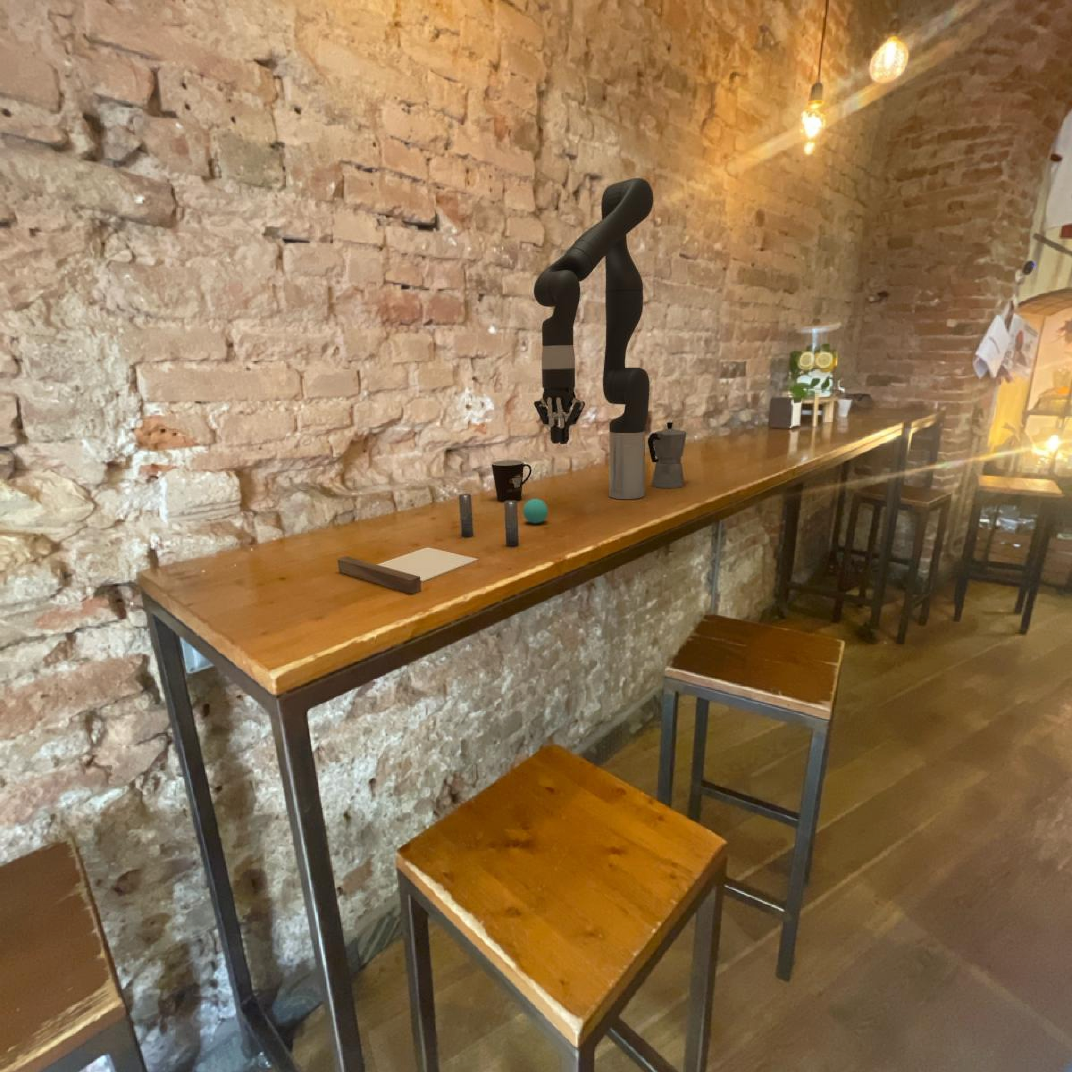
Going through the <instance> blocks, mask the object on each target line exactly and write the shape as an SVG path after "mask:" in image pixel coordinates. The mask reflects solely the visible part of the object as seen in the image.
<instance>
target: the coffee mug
mask: <svg viewBox="0 0 1072 1072" xmlns="http://www.w3.org/2000/svg"><path fill="white" fill-rule="evenodd" d="M525 467H528V470H529V472H528V475H527V476H526V478H525V479H523V478H524V468H525ZM491 468H492V475H493V476H492V477H493V480H494V482H493V483H494V487H495V493H496V499H497V501H498V502H499V503H504V502H505V501H511V500H512V501H517V502H519V501H521V500H522V493H523V485H524V484H525V483H526V482H527V481H528V480H529V479H530V476H532V471H533V470H532V466H531V465H530V464H526V463H525V462H524V460H518V459H503V460H496V461H493V462H491Z"/></svg>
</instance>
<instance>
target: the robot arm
mask: <svg viewBox="0 0 1072 1072" xmlns="http://www.w3.org/2000/svg"><path fill="white" fill-rule="evenodd" d="M653 205H654V192H653V189H652V186H651V185H650V182H648V181H647V179H645V178H640V177H634V178H629V179H626V180H622V181H619V182H616V183H615V182H614V183H613V184H609V185H608V186H607V187H606V188H605V189H604V191H603V194H602V196H601V207H600V209H601V213H600V214H601V220H600V221H599V222H597V223H596V224H594V225H593V226H591V227H590V228H589V229H587V230H586V231H585V232H583V233H582V234H581V235H580V236H579V237H578V238H577V239H576V240H575V241H574V242H573V243H572V245H571V246H569V249H567V251H566V252H565V253H564V254H563V256H561V257H560V258H559V259H557V260H556V261H555V262H553V263H552V264H550V265H549V266H547V268H545V269H544V270H543V271H542V272H541V273H540V274H539V275H538V277H537V278H536V280H535V283H534V286H533V295H534V299H535V300H536V302H537V303H538V304H539V305H541V306H542V307H546V308H551V307H554V308H553V311H552V315H551V316H550V317H548V318H546V319H545V320H543V322H542V324H541V340H542V351H541V384H542V385H541V386H542V388H543V392H542V398H540V399H539V400H535V401H534V402H533V405H534V407H535V409H536V412H537V414H538V416H539V417H540V420H541V422H542V424H543V425H546V426H548V427H550V441H551V443H552V444H554V445H555V444H560V445H566V444H568V442H569V441H570V427H571V426H573V425H576V424H577V423H578V420H579V419H580V416H581V415H582V412H583V411H584V408H585V405H586V402H585V401H582V400H579V398H577V395H576V393H575V387H576V356H575V348H574V347H575V346H574V323H575V321H576V317H577V312H578V308H579V304H580V299H581V284H580V283H581V282H582V281H585V280H586V279H587V278H588V276H589V275H591V273H592V272H593V271H594V269H595V268H596V267H597V266H598V265H599V264H600V262H602V260H603V259H604V260H605V261H604V264H605V267H604V268H605V289H604V291H605V292H604V293H605V296H604V298H605V303H604V304H605V305H604V306H605V348H604V360H603V373H602V390H603V391H602V392H603V395H604V399H605V400H606V401H607V402H608V403H609V404H612V405H624V411H623V413H622V414H621V415H620V416H618V417H616V418H613V419H611V420H610V422H609V428H608V429H609V437H608V439H609V441H608V443H609V449H608V450H609V456H608V457H609V461H608V463H609V465H608V466H609V468H608V470H609V471H608V473H609V476H608V477H609V479H608V482H609V483H608V486H609V487H608V488H609V491H608V494H609V497H610V498H613V499H617V500H637V499H640V498H643V497H645V494H646V489H645V488H646V459H645V458H646V457H645V456H646V454H645V453H646V426H647V421H648V417H649V405H650V404H649V403H650V391H651V388H650V387H651V386H650V385H651V384H650V377H649V374H648V373H647V372H648V371H646V369H644V368H642V367H626V358H627V357H626V356H627V355H626V354H627V349H628V345H629V342H630V340H631V338H632V335H633V334H634V332H635V330H636V328H637V327H638V324H639V322H640V320H641V318H642V315H643V312H644V311H643V309H644V283H643V279H642V276H641V274H640V271H639V270H638V268H637V265H635V262H634V261H633V259H632V257H631V255H630V252H629V248H628V240H627V235H628V233H630V232H631V231H632V230H633V229H634V228H636V227H637V226H638V225H640V224H641V223H642V222H643V221H644V220H646V219H647V218H648V217H649V215H650V213H651V211H652V210H653V207H654V206H653ZM571 408H572V409H571Z"/></svg>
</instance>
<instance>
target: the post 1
mask: <svg viewBox="0 0 1072 1072" xmlns="http://www.w3.org/2000/svg"><path fill="white" fill-rule="evenodd" d="M458 503H459V504H458V505H459V506H458V507H459V519H460V535H461V538H472V537H474V524H473V523H474V521H473V520H474V519H473V505H472V503H473V502H472V494H471V493H461V494H459V495H458Z"/></svg>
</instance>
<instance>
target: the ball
mask: <svg viewBox="0 0 1072 1072" xmlns="http://www.w3.org/2000/svg"><path fill="white" fill-rule="evenodd" d="M548 512H549V510H548V506H547V504H546V503H545V501H543V500H541V499H538V498H533V499H529V500H528V501H527V502H526V503H525V504H524V507H523V516H524V518H525V519H526V520H527V521H528V522H529V523H531V524H541V523H542V522H544V521H545V519H547V516H548Z"/></svg>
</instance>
